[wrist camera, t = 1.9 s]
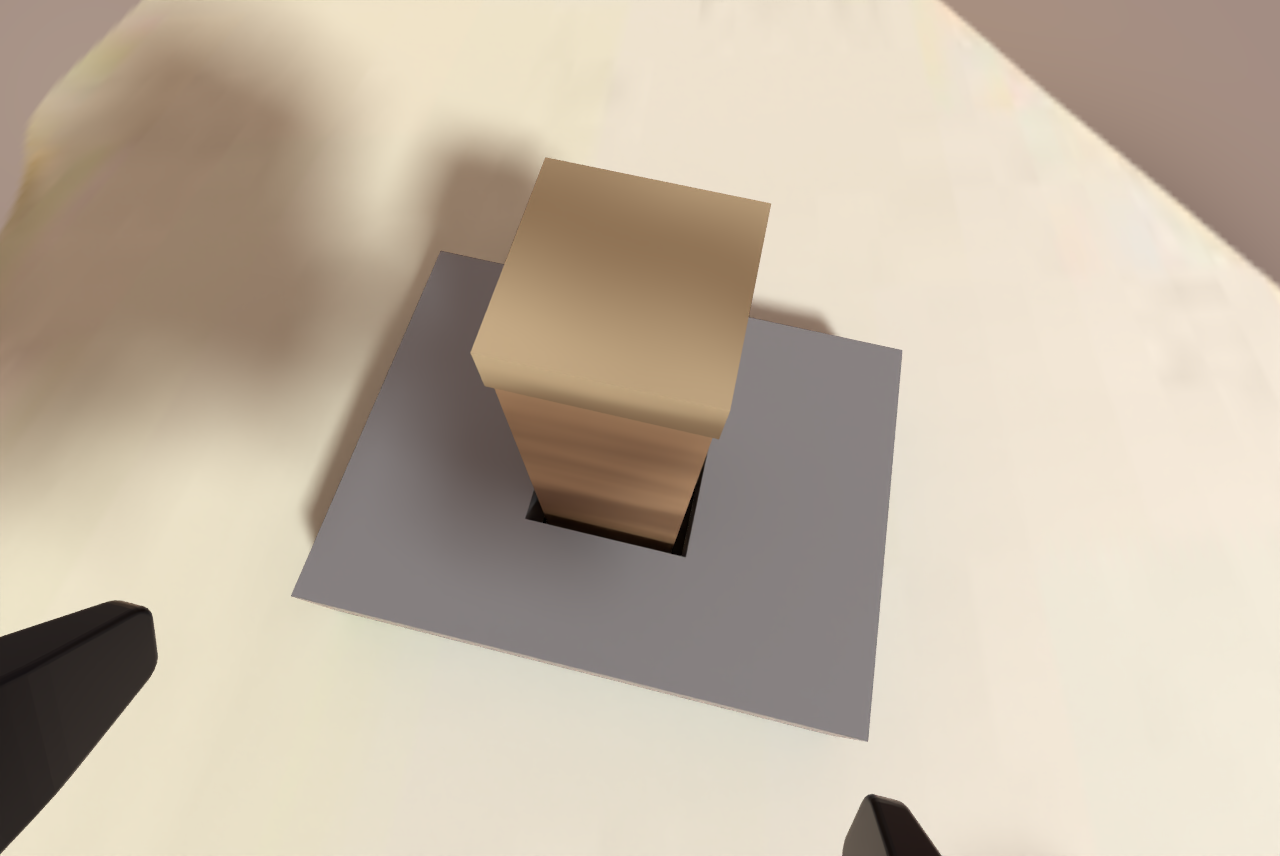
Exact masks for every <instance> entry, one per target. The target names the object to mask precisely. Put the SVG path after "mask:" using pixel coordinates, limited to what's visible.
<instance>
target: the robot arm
mask: <svg viewBox="0 0 1280 856" xmlns="http://www.w3.org/2000/svg"><path fill="white" fill-rule="evenodd" d="M157 660H158V653H157V645H156V638H155V630H154V623H153V616H152V613H151V612H150V611H149V609H148V608H146V607H144V606H140V605H136V604H132V603H128V602H125V601H117V600H114V601H109V602H105V603H102V604H99V605H96V606H93V607H90V608H87V609H84V610H81V611H78V612H75V613H72V614H69V615H66V616H63V617H60V618H56V619H53V620H50V621H47V622H44V623H41V624H38V625H35V626H32V627H29V628H26V629H23V630H20V631H17V632H14V633H11V634H8V635H5V636H2V637H0V854H1V853H2V852H3V851H4V850H5V849H6V848H7V847H8V845H9V844H10V843H11V842H12V841H13V840H14V839H15V838H16V837H17V836H18V835H19V834H20V833H21V832H22V831H23V830H24V828H25V827H26V826H27V825H28V824H29V823H30V822H31V821H32V820H33V819H34V818H35V817H36V816H37V815H38V814H39V812H40V811H41V810H42V809H43V808H44V807H45V806H46V805H47V804H48V802H49V801H50V800H51V799H52V798H53V797H54V796H55V795H56V794H57V792H58V791H59V790H60V789H61V788H62V786H63V785H64V784H65V783H66V782H67V780H68V779H69V778H70V777H71V776H72V775H73V773H74V772H75V771H76V770H77V768H78V767H79V766H80V765H81V763H82V762H83V761H84V760H85V758H86V757H87V756H88V755H89V753H90V752H91V751H92V750H93V748H94V747H95V746H96V745H97V743H98V742H99V741H100V740H101V738H102V737H103V736H104V735H105V733H106V732H107V731H108V730H109V728H110V727H111V726H112V725H113V723H114V722H115V721H116V720H117V718H118V717H119V716H120V715H121V713H122V712H123V711H124V710H125V708H126V707H127V706H128V705H129V703H130V702H131V701H132V700H133V698H134V697H135V696H136V695H137V693H138V692H139V691H140V690H141V688H142V687H143V686H144V685H145V683H146V682H147V681H148V680H149V678H150V677H151V675H152V673H153V671H154V670H155V667H156V664H157ZM842 856H941V854H940V853H939V851H938V850H937V848H936V847H935V846H934V844H933V843H932V841H931V840H930V838H929V837H928V836H927V834H926V833H925V831H924V830H923V828H922V827H921V826H920V824H919V823H918V821H917V820H916V818H915V817H914V816H913V814H912V813H911V811H910V810H909V809H908V807H906V806H905V805H904V804H903V803H902V802H900V801H897V800H894V799H890V798H886V797H882V796H878V795H874V794H870V795H867V796H866V797H865V798H864V800H863V801H862V803H861V805H860V807H859V810H858V812H857V814H856V816H855V818H854V821H853V823H852V825H851V827H850V829H849V831H848V834H847V836H846V838H845V842H844V846H843V854H842Z"/></svg>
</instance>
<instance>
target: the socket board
mask: <svg viewBox="0 0 1280 856" xmlns="http://www.w3.org/2000/svg"><path fill="white" fill-rule="evenodd" d="M503 266H504V264H499V263H495V262H490V261H485V260H481V259H476V258H472V257H467V256H462V255H458V254H453V253H448V252H444V251H440V254H439V256H438V258H437V261H436V263H435V265H434V267H433V270H432V272H431V274H430V277H429V279H428V281H427V284H426V286H425V288H424V291H423V293H422V295H421V297H420V300H419V302H418V304H417V307H416V309H415V311H414V314H413V316H412V318H411V320H410V323H409V325H408V327H407V330H406V332H405V334H404V337H403V339H402V341H401V344H400V346H399V348H398V350H397V353H396V355H395V357H394V360H393V362H392V364H391V367H390V369H389V371H388V373H387V376H386V378H385V380H384V383H383V385H382V387H381V390H380V392H379V394H378V397H377V399H376V401H375V403H374V406H373V408H372V410H371V413H370V415H369V417H368V420H367V422H366V424H365V426H364V429H363V431H362V433H361V436H360V438H359V440H358V443H357V445H356V447H355V450H354V452H353V454H352V456H351V459H350V461H349V463H348V466H347V468H346V470H345V473H344V475H343V477H342V479H341V482H340V484H339V486H338V489H337V491H336V493H335V496H334V498H333V500H332V503H331V505H330V507H329V509H328V512H327V514H326V516H325V519H324V521H323V523H322V526H321V528H320V530H319V532H318V535H317V537H316V539H315V542H314V544H313V546H312V549H311V551H310V553H309V556H308V558H307V560H306V562H305V565H304V567H303V569H302V572H301V574H300V576H299V579H298V581H297V583H296V585H295V588H294V590H293V592H292V595H291V596H292V597H295V598H299V599H302V600H305V601H308V602H311V603H315V604H318V605H321V606H324V607H327V608H330V609H334V610H337V611H341V612H345V613H349V614H353V615H357V616H361V617H365V618H369V619H373V620H377V621H381V622H385V623H389V624H393V625H397V626H401V627H405V628H409V629H413V630H417V631H420V632H424V633H428V634H432V635H436V636H440V637H444V638H448V639H452V640H456V641H460V642H464V643H468V644H472V645H476V646H480V647H484V648H488V649H492V650H496V651H500V652H504V653H508V654H512V655H516V656H519V657H523V658H527V659H531V660H535V661H539V662H543V663H547V664H551V665H555V666H559V667H563V668H567V669H571V670H575V671H579V672H583V673H587V674H591V675H595V676H599V677H603V678H607V679H611V680H615V681H618V682H622V683H626V684H630V685H634V686H638V687H642V688H646V689H650V690H654V691H658V692H662V693H666V694H670V695H674V696H678V697H682V698H686V699H690V700H694V701H698V702H702V703H706V704H710V705H713V706H717V707H721V708H725V709H729V710H733V711H737V712H741V713H745V714H749V715H753V716H757V717H761V718H765V719H769V720H773V721H777V722H781V723H785V724H789V725H793V726H797V727H801V728H805V729H809V730H812V731H816V732H820V733H824V734H828V735H832V736H838V737H844V738H849V739H855V740H861V741H867V742H868V736H869V724H870V713H871V702H872V690H873V679H874V667H875V656H876V645H877V633H878V622H879V611H880V599H881V588H882V576H883V565H884V554H885V542H886V531H887V520H888V508H889V497H890V485H891V474H892V463H893V451H894V440H895V428H896V417H897V406H898V394H899V383H900V372H901V360H902V350H899V349H894V348H890V347H885V346H880V345H876V344H871V343H866V342H862V341H857V340H852V339H848V338H843V337H839V336H834V335H829V334H825V333H820V332H815V331H811V330H806V329H801V328H797V327H792V326H787V325H783V324H778V323H773V322H769V321H764V320H760V319H755V318H750V317H749V318H748V323H747V328H746V333H745V338H744V343H743V348H742V353H741V358H740V363H739V368H738V374H737V379H736V384H735V389H734V394H733V399H732V404H731V409H730V413H729V415H728V418H727V420H726V423H725V425H724V428H723V431H722V433H721V436H720V438H719V439H715V438H712V441H711V444H710V446H709V449H708V452H707V455H706V457H705V460H704V463H703V466H702V468H701V471H700V474H699V477H698V479H697V484H696V489H695V493H694V498H693V503H692V508H691V512H690V517H689V522H688V527H687V531H686V536H685V541H684V546H683V550H682V555H681V556H678V555H674V554H670V553H666V552H661V551H657V550H653V549H649V548H645V547H640V546H636V545H632V544H628V543H624V542H620V541H615V540H611V539H607V538H603V537H599V536H594V535H590V534H586V533H582V532H578V531H574V530H569V529H565V528H561V527H557V526H553V525H548V524H544V523H543V520H544V516H545V515H544V512H543V510H542V507H541V505H540V502H539V500H538V497H537V495H536V492H535V490H534V487H533V485H532V482H531V480H530V477H529V475H528V472H527V469H526V467H525V464H524V462H523V459H522V457H521V454H520V452H519V449H518V447H517V444H516V442H515V439H514V437H513V434H512V432H511V429H510V427H509V424H508V422H507V419H506V417H505V414H504V412H503V409H502V407H501V404H500V401H499V399H498V396H497V394H496V391H495V389H494V388H491V387H486V386H484V383H483V381H482V379H481V376H480V374H479V372H478V369H477V367H476V365H475V362H474V360H473V357H472V355H471V353H470V352H471V350H472V347H473V345H474V342H475V339H476V337H477V334H478V332H479V329H480V326H481V324H482V321H483V319H484V316H485V313H486V311H487V308H488V306H489V303H490V300H491V298H492V295H493V293H494V290H495V287H496V285H497V282H498V280H499V277H500V274H501V272H502V269H503Z"/></svg>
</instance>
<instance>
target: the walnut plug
mask: <svg viewBox="0 0 1280 856" xmlns="http://www.w3.org/2000/svg"><path fill="white" fill-rule="evenodd" d="M770 207H771V204H770V203H766V202H761V201H756V200H751V199H746V198H741V197H736V196H731V195H726V194H722V193H717V192H712V191H707V190H702V189H697V188H692V187H687V186H683V185H678V184H673V183H668V182H663V181H658V180H653V179H648V178H643V177H639V176H634V175H629V174H624V173H619V172H614V171H609V170H604V169H600V168H595V167H590V166H585V165H580V164H575V163H570V162H565V161H560V160H556V159H551V158H546V157H545V160H544V162H543V165H542V167H541V170H540V173H539V175H538V178H537V180H536V183H535V186H534V188H533V191H532V194H531V196H530V199H529V201H528V204H527V207H526V209H525V212H524V214H523V217H522V220H521V222H520V225H519V227H518V230H517V233H516V235H515V238H514V240H513V243H512V246H511V248H510V251H509V253H508V256H507V259H506V261H505V264H504V266H503V269H502V272H501V274H500V277H499V280H498V282H497V285H496V287H495V290H494V293H493V295H492V298H491V300H490V303H489V306H488V308H487V311H486V313H485V316H484V319H483V321H482V324H481V326H480V329H479V332H478V334H477V337H476V339H475V342H474V345H473V347H472V350H471V352H470V353H471V355H472V357H473V360H474V362H475V365H476V367H477V369H478V372H479V374H480V376H481V379H482V381H483V383H484V386H486V387H491V388H494V389H495V391H496V394H497V396H498V399H499V401H500V404H501V407H502V409H503V412H504V414H505V417H506V419H507V422H508V424H509V427H510V429H511V432H512V434H513V437H514V439H515V442H516V444H517V447H518V449H519V452H520V454H521V457H522V459H523V462H524V464H525V467H526V469H527V472H528V475H529V477H530V480H531V482H532V485H533V487H534V490H535V492H536V495H537V497H538V500H539V502H540V505H541V507H542V510H543V512H544V515H545V517H546V520H547V522H548V525H553V526H557V527H561V528H565V529H569V530H574V531H578V532H582V533H586V534H590V535H594V536H599V537H603V538H607V539H611V540H615V541H620V542H624V543H628V544H632V545H636V546H640V547H645V548H649V549H653V550H657V551H661V552H666V553H670V554H671V551H672V548H673V546H674V543H675V540H676V537H677V535H678V532H679V529H680V526H681V524H682V521H683V518H684V515H685V513H686V510H687V507H688V504H689V502H690V499H691V496H692V493H693V491H694V488H695V485H696V482H697V479H698V477H699V474H700V471H701V468H702V466H703V463H704V460H705V457H706V455H707V452H708V449H709V446H710V444H711V441H712V438H715V439H719V438H720V436H721V433H722V431H723V428H724V425H725V423H726V420H727V418H728V415H729V413H730V409H731V404H732V399H733V394H734V389H735V384H736V379H737V374H738V368H739V363H740V358H741V353H742V348H743V343H744V338H745V333H746V328H747V323H748V318H749V313H750V308H751V303H752V298H753V293H754V288H755V282H756V277H757V272H758V267H759V262H760V257H761V252H762V247H763V242H764V237H765V232H766V227H767V222H768V217H769V212H770Z"/></svg>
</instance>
